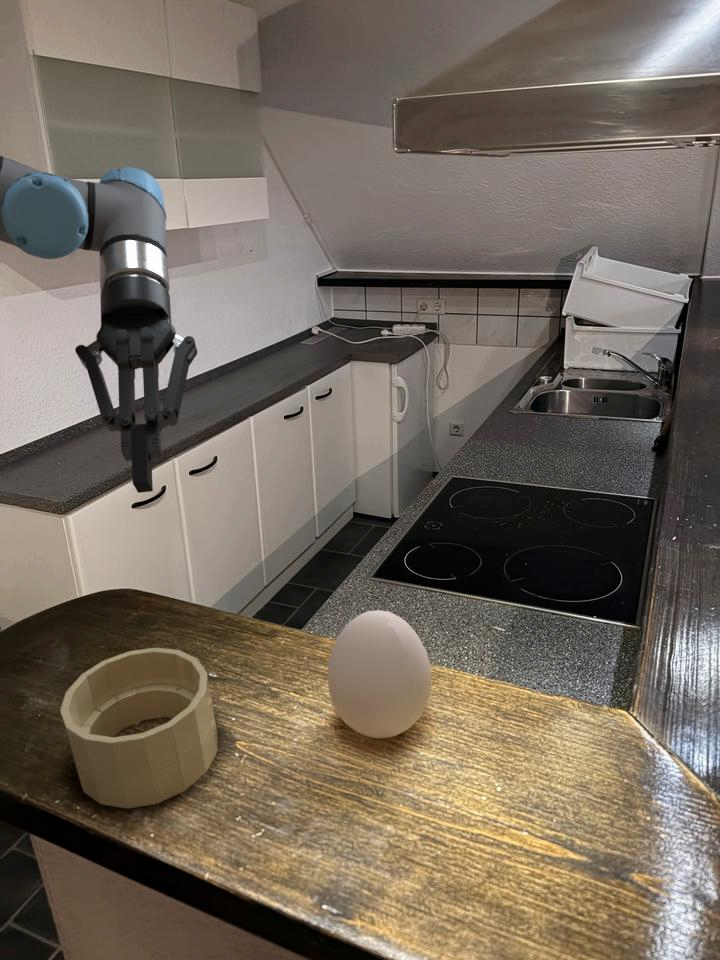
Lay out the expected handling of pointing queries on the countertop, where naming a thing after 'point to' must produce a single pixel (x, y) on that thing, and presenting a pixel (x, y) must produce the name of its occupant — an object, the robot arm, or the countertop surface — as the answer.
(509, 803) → the countertop surface
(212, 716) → the ring
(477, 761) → the countertop surface
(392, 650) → the egg
